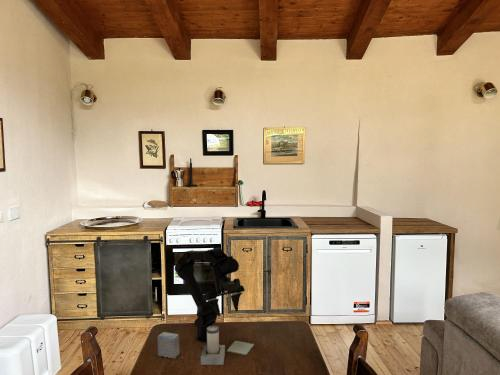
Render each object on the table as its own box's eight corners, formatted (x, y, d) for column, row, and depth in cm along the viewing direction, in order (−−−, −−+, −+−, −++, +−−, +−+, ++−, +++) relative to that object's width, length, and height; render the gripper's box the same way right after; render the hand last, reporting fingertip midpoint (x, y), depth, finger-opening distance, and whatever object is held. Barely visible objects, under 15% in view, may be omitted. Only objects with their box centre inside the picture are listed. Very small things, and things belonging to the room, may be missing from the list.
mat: (226, 351, 153) (226, 350, 153) (235, 341, 161) (235, 340, 161) (246, 355, 150) (246, 354, 150) (253, 345, 158) (253, 344, 158)
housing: (203, 353, 151) (203, 345, 151) (225, 353, 151) (224, 345, 151) (200, 365, 142) (200, 356, 142) (223, 364, 142) (223, 356, 142)
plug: (205, 360, 146) (204, 329, 145) (210, 354, 150) (210, 324, 149) (215, 363, 144) (215, 331, 143) (221, 357, 148) (220, 326, 148)
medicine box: (179, 354, 151) (179, 334, 151) (174, 359, 147) (173, 338, 146) (163, 351, 154) (163, 331, 153) (157, 356, 150) (157, 336, 149)
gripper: (212, 276, 144) (220, 316, 140) (247, 269, 156) (256, 306, 152) (198, 281, 152) (206, 319, 147) (233, 274, 164) (241, 309, 159)
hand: (228, 313), depth 151 cm, fingers open, 9 cm apart
